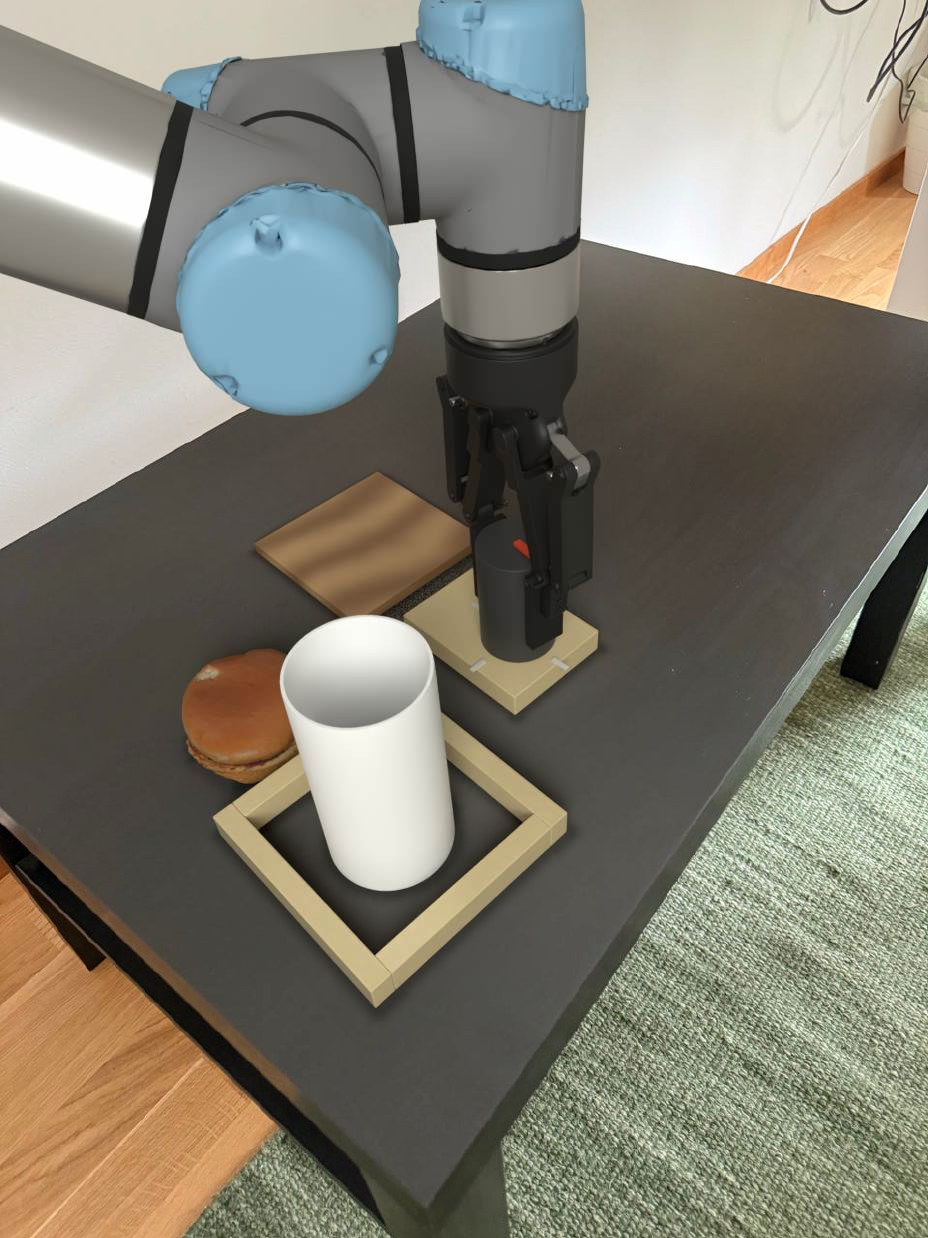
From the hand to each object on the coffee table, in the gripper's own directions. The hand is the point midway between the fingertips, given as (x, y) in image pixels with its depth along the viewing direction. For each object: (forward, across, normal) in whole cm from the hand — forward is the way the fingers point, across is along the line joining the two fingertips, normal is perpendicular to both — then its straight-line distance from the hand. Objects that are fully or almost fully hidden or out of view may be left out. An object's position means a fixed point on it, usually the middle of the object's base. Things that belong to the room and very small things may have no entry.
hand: (517, 613), depth 68 cm
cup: (+5, -8, +16) cm, 18 cm away
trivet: (+4, +18, +3) cm, 19 cm away
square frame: (+4, -8, +16) cm, 18 cm away
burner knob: (+2, 0, 0) cm, 2 cm away
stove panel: (+4, +2, 0) cm, 5 cm away
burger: (+5, +5, +20) cm, 21 cm away
